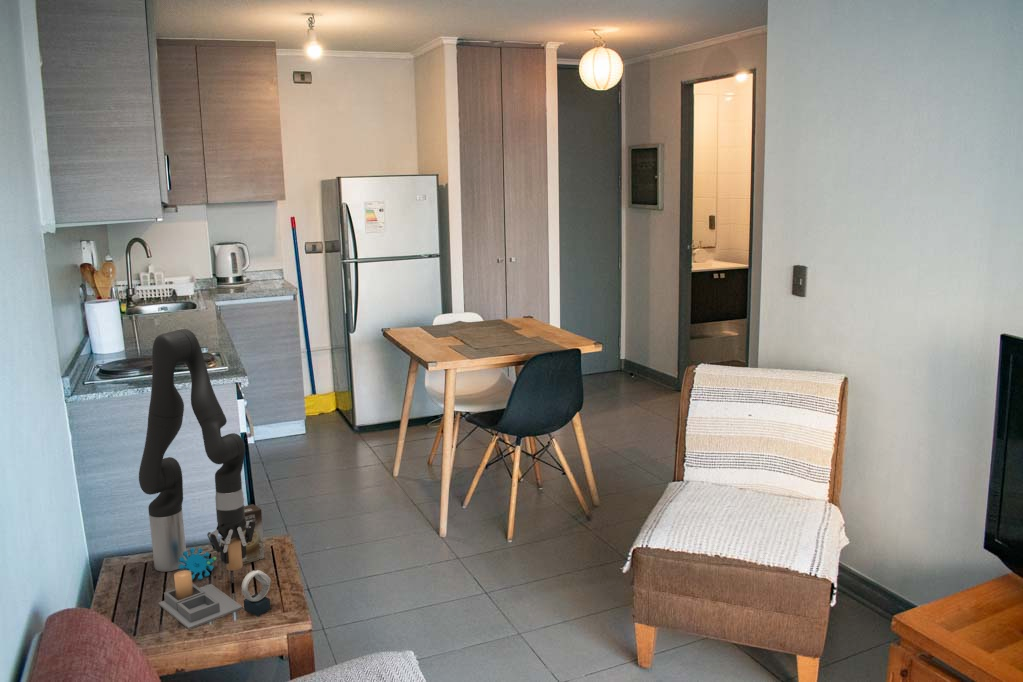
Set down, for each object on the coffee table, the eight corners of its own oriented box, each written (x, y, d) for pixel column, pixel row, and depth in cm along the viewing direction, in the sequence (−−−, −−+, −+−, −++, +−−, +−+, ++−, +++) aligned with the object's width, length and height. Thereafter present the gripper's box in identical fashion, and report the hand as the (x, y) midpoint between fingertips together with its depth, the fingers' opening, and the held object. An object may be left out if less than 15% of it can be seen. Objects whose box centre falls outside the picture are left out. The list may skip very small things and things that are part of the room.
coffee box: (236, 567, 251) (232, 516, 248) (228, 560, 256) (223, 510, 253) (265, 558, 257) (261, 509, 254) (256, 551, 262) (253, 503, 259)
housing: (158, 604, 230) (155, 575, 228) (211, 585, 240) (208, 557, 238) (188, 629, 217) (186, 599, 215) (242, 608, 227) (240, 579, 225)
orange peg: (223, 566, 240) (221, 541, 239) (238, 562, 243) (236, 536, 242) (231, 572, 237) (229, 545, 235) (245, 566, 240) (243, 541, 239)
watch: (276, 606, 228) (273, 568, 226) (252, 619, 221) (249, 580, 219) (262, 600, 231) (259, 563, 229) (238, 613, 224) (235, 575, 222)
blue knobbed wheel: (184, 581, 240) (176, 549, 244) (178, 590, 243) (170, 559, 247) (221, 573, 247) (213, 543, 251) (215, 582, 250) (206, 552, 255)
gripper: (246, 493, 244) (250, 548, 247) (199, 507, 234) (204, 564, 237) (259, 500, 239) (263, 556, 242) (212, 515, 229) (216, 573, 232)
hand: (234, 560), depth 240 cm, fingers closed on orange peg, 4 cm apart
